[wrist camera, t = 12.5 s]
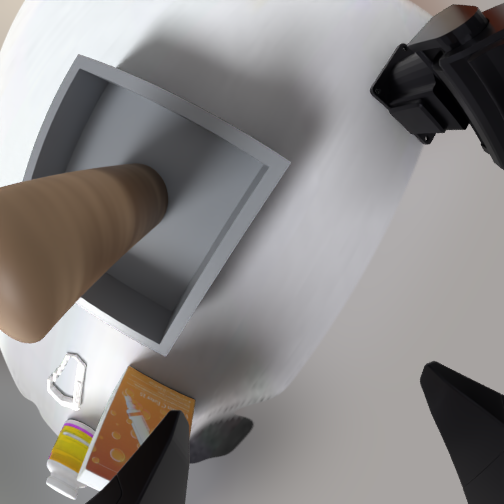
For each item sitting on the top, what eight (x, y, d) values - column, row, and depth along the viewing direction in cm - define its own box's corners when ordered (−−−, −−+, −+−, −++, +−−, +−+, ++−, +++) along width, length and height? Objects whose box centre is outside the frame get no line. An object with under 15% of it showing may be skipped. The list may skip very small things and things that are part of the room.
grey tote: (111, 72, 15) (78, 54, 10) (278, 161, 18) (291, 162, 13) (44, 231, 19) (9, 250, 14) (179, 318, 22) (165, 357, 17)
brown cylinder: (122, 151, 16) (-32, 166, 4) (181, 184, 17) (66, 248, 5) (95, 212, 18) (-38, 289, 5) (149, 245, 19) (46, 367, 7)
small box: (196, 398, 25) (182, 507, 13) (172, 421, 27) (155, 513, 15) (127, 362, 24) (83, 469, 11) (111, 390, 25) (75, 480, 13)
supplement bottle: (61, 412, 28) (32, 473, 16) (98, 427, 28) (73, 494, 16) (72, 433, 30) (49, 488, 18) (106, 446, 30) (87, 506, 18)
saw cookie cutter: (55, 332, 24) (48, 341, 22) (90, 354, 25) (84, 364, 23) (51, 392, 27) (47, 400, 25) (80, 410, 28) (76, 418, 26)
